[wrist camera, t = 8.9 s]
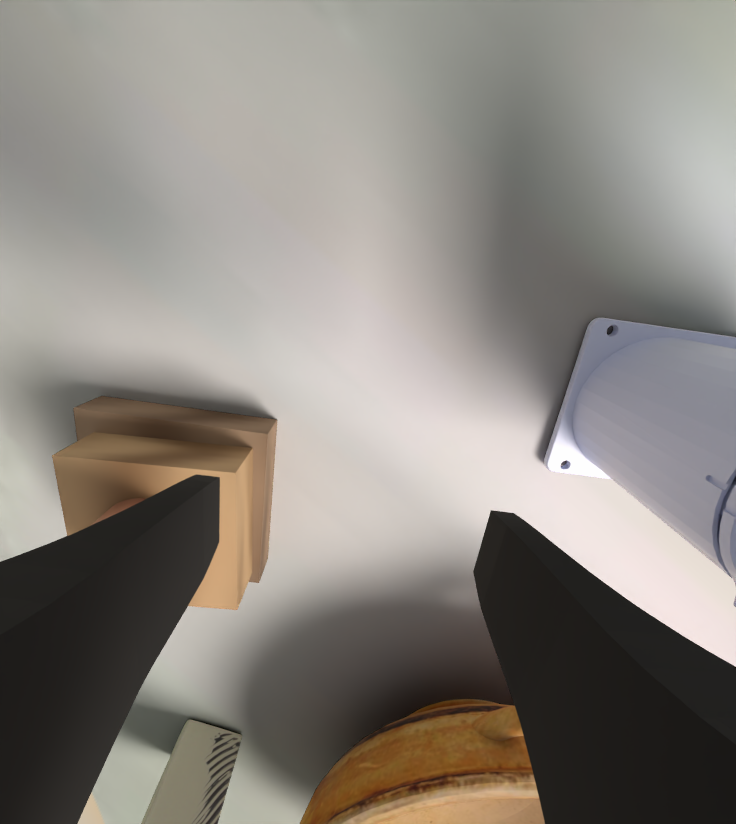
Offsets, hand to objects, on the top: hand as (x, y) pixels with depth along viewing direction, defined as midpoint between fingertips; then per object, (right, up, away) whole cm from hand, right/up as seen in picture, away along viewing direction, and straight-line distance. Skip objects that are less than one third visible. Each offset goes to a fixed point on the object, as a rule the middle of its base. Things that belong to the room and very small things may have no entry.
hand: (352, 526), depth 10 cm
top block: (-9, -2, +9) cm, 13 cm away
